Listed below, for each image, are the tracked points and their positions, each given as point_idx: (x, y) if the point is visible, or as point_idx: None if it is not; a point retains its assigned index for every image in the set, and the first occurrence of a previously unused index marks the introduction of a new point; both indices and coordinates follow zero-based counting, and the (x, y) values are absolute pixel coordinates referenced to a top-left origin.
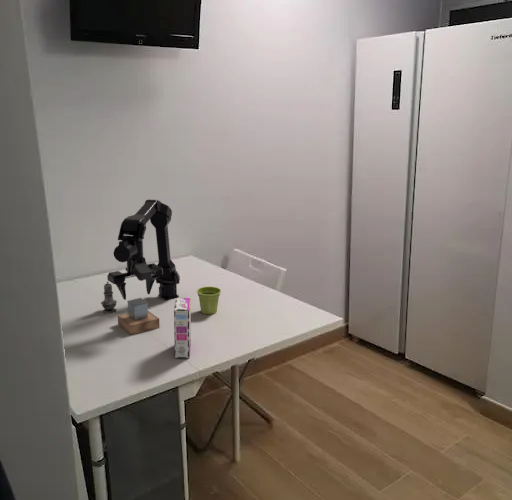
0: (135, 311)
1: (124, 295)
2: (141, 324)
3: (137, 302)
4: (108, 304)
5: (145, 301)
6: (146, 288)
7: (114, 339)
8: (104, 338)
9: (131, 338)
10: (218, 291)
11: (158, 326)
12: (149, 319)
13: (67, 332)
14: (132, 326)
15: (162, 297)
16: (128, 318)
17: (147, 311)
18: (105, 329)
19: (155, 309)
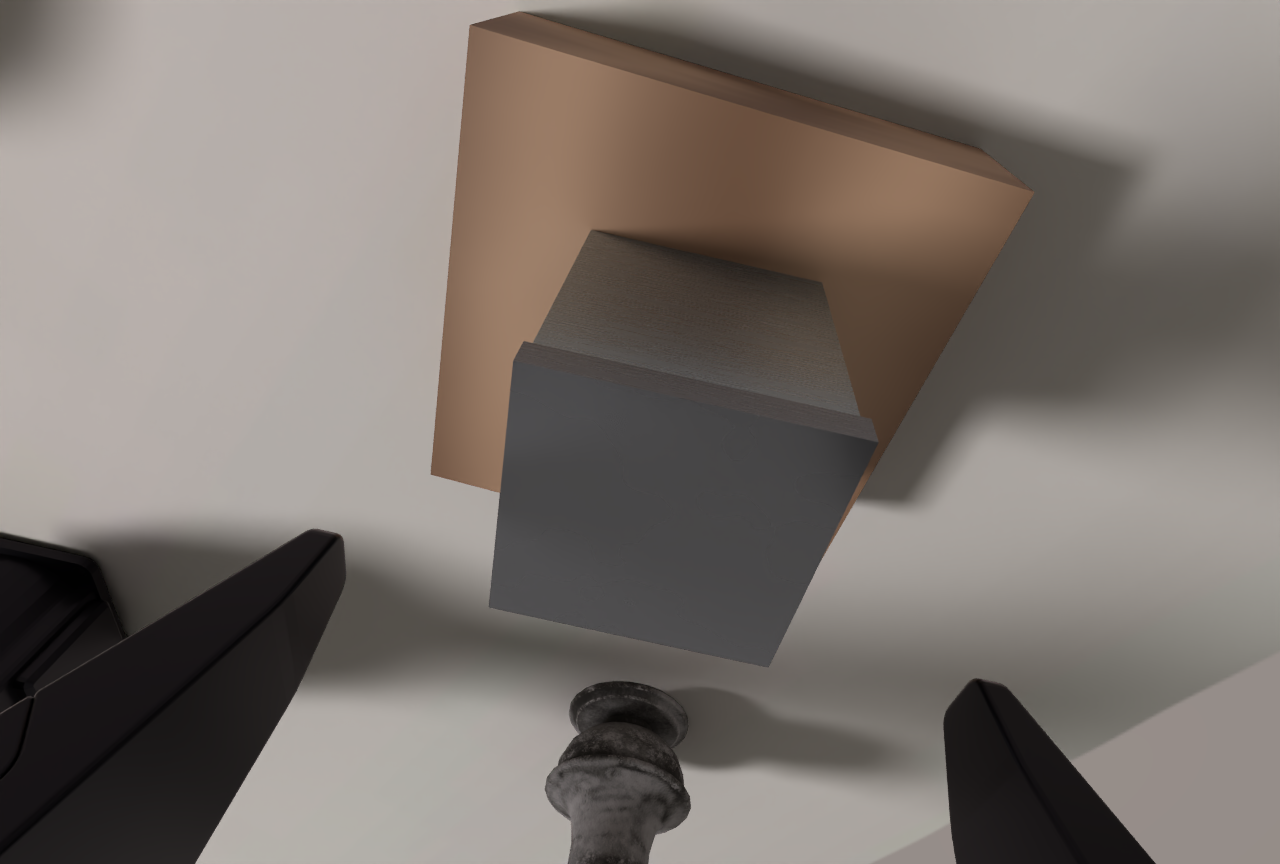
0: (826, 356)
1: (1092, 805)
2: (821, 124)
3: (703, 496)
4: (658, 779)
5: (536, 411)
6: (278, 720)
7: (1223, 210)
8: (1235, 337)
9: (1089, 26)
10: None
11: (530, 18)
12: (625, 139)
13: (1211, 685)
14: (985, 171)
15: (103, 603)
16: None
17: (571, 271)
18: (981, 503)
19: (276, 486)
